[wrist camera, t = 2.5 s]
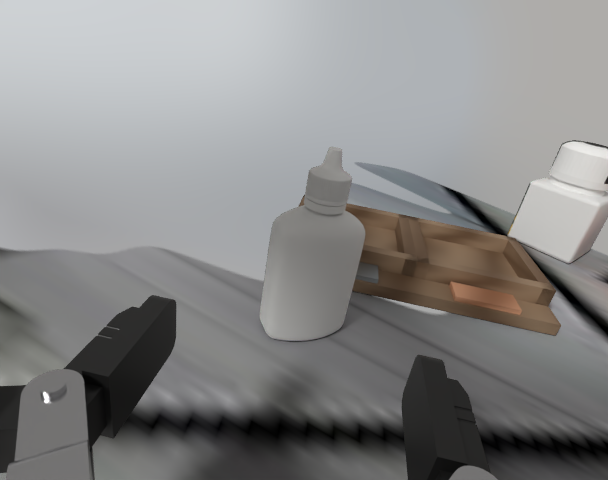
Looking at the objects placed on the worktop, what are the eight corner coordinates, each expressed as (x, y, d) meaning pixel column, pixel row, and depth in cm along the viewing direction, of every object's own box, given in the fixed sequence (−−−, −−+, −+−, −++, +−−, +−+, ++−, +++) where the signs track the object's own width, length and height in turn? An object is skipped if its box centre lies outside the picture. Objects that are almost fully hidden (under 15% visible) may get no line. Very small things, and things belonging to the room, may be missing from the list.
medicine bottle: (529, 227, 52) (571, 135, 46) (589, 252, 47) (643, 153, 42) (505, 236, 47) (549, 136, 42) (568, 265, 43) (626, 156, 37)
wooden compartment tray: (275, 273, 32) (279, 246, 31) (304, 208, 45) (307, 187, 44) (555, 335, 30) (570, 309, 29) (498, 248, 44) (507, 228, 43)
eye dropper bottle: (266, 298, 29) (290, 131, 23) (343, 313, 28) (384, 149, 23) (252, 337, 25) (277, 148, 19) (341, 355, 25) (390, 169, 19)
